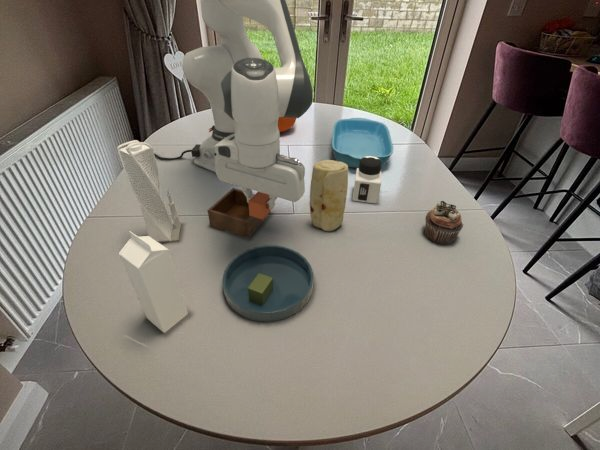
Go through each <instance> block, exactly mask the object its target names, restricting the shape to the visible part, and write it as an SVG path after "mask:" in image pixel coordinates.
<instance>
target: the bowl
mask: <svg viewBox="0 0 600 450" xmlns="http://www.w3.org/2000/svg"><path fill="white" fill-rule="evenodd" d="M259 273H260V274H263V275H266V276H269V277H271V278H273V291H272V293H271V294H270V296H269V297H268V299H267V300H266V302H265V303H264V305H260V304H258V303H255V302H253V301H250V300H249V294H248V287H249V286H250V284H251V283H252V282H253V280H254V279H255V278H256V276H257V275H258V274H259ZM314 278H315V277H314V270H313V268H312V265H311V264H310V262H309V261H308V259H307V258H306V257H305V256H303V255H302V254H301V253H300V252H298V251H296V250H295V249H292V248H289V247H287V246H281V245H268V244H267V245H266V244H265V245H260V246H259V245H258V246H254V247H252V248H249V249H246V250H244V251H242V252H240V253H239V254H237V255H236V256H234V257H233V258H232V260H231V261H230V262H229V263H228V264H227V266H226V267H225V269H224V271H223V275H222V280H221V281H222V289H223V294H224V298H225V300H226V302H227V304H228V305H229V307H230V308H231V309H232V310H233V311H234V312H235V313H237V314H238V315H240V316H241V317H244V318H245V319H248V320H252V321H256V322H265V323H266V322H276V321H280V320H285V319H287V318H290V317H292V316H294V315H295V314H297V313H298V312H300V311H301V310H302V309H303V308H304V307H305V306H306V304H308V302H309V301H310V299H311V296H312V294H313V289H314Z"/></svg>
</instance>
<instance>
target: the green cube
mask: <svg viewBox="0 0 600 450" xmlns="http://www.w3.org/2000/svg"><path fill="white" fill-rule="evenodd" d="M272 291H273V278H271V277H269V276H266V275H263V274H260V273H259V274H258V275H257V276H256V278H255V279H254V280H253V282H252V283H251V284H250V286H249V287H248V294H249V300H250V301H253V302H255V303H258V304H260V305H264V303H265V302H266V300H267V299H268V297H269V296H270V294H271V293H272Z"/></svg>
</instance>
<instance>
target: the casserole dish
mask: <svg viewBox="0 0 600 450" xmlns="http://www.w3.org/2000/svg"><path fill="white" fill-rule="evenodd" d="M332 127H333V128H332V137H331V147H332V151H333V155H334V158H335V161H338V162H343V163H345V164H347V165H348V168H350V169H351V168H352V169H357V168H359V164H360V160H361V159H362V158H363V157H366V156H373V157H376V158H379V159H380V160H381V162H382V166H381V168H382V167H384V166H385V165H386V164H387V163H388V161H389V159H390V157H391V156H392V155H393V153H394V146H393V140H392V137H391V133H390V129H389V126H387V125H386V124H385V123H384V122H381V121H379V120H373V119H369V118H366V117H352V118H342V119H338V120H337V121H335V122H334V124H333V126H332Z"/></svg>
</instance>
